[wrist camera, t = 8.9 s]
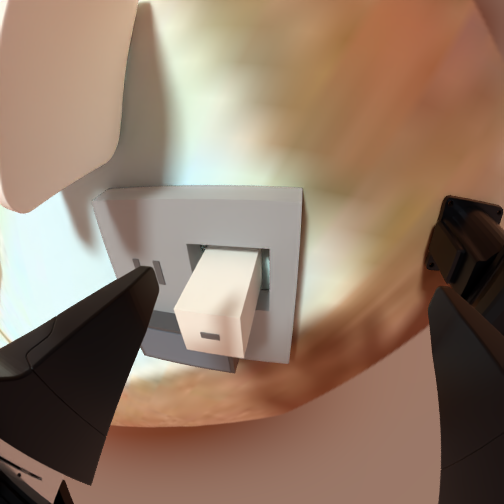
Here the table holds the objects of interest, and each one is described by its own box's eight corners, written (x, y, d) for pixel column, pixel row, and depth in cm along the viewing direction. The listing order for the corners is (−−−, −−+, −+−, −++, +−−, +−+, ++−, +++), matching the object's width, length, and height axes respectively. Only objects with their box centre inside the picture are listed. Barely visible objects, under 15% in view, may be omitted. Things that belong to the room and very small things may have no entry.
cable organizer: (125, 164, 20) (17, 242, 10) (45, 152, 20) (-46, 208, 11) (150, -16, 11) (28, -51, 2) (56, 8, 11) (-49, 17, 2)
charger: (261, 241, 22) (239, 319, 15) (261, 281, 24) (243, 359, 17) (211, 238, 22) (173, 310, 16) (216, 277, 24) (186, 350, 18)
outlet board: (302, 187, 18) (302, 203, 16) (290, 344, 28) (288, 364, 26) (108, 188, 21) (90, 201, 19) (153, 325, 31) (144, 341, 29)
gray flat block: (234, 321, 24) (229, 340, 22) (239, 357, 27) (234, 374, 25) (136, 306, 25) (126, 321, 24) (151, 341, 28) (144, 355, 27)
